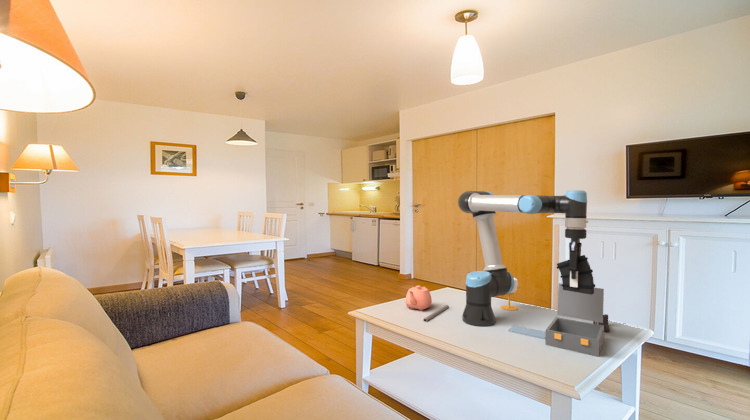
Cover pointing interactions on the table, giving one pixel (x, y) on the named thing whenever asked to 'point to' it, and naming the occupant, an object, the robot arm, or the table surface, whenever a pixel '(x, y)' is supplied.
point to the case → (575, 336)
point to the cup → (508, 307)
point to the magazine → (584, 276)
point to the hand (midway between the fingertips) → (574, 285)
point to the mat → (528, 331)
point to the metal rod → (435, 313)
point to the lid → (581, 304)
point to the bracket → (604, 323)
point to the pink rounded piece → (418, 298)
